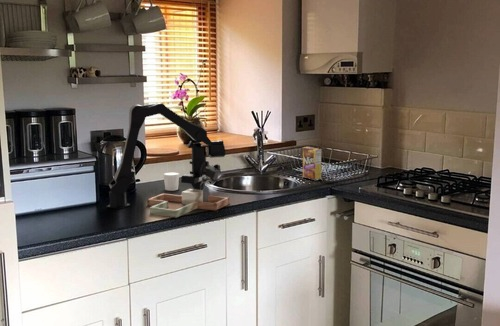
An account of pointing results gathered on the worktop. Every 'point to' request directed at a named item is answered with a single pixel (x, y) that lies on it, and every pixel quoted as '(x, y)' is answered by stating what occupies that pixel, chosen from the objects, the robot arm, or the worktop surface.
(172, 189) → the white cup
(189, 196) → the cream block
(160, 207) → the channel
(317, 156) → the candy box
